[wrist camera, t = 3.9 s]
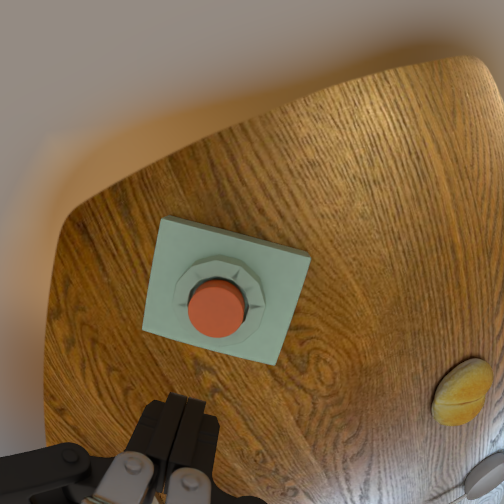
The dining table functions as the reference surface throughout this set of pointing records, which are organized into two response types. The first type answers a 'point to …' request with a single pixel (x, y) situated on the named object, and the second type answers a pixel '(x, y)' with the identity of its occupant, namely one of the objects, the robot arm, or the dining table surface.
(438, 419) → the bread roll
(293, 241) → the dining table surface
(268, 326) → the control block
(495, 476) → the saucepan
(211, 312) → the power button
